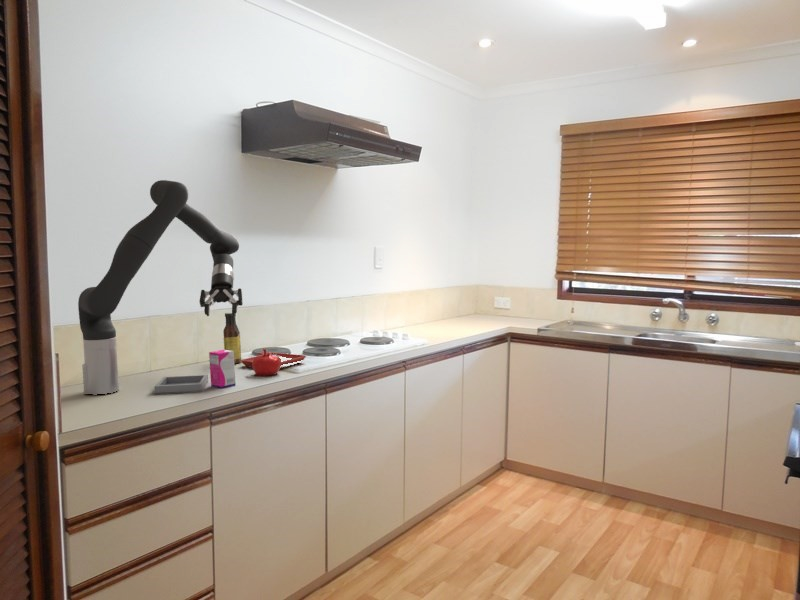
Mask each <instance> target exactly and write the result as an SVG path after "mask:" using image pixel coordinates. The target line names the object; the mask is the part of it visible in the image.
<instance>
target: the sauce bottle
mask: <svg viewBox="0 0 800 600" xmlns="http://www.w3.org/2000/svg"><path fill="white" fill-rule="evenodd" d="M236 314H237V313H236ZM236 314H235V315H232V311H231V312H225V313H224V317H225V327H223V350H230V351H234V365H235V364H236V365H237V364H240V363H242V362H241V360H242V348H241V346H242V345H241V332H240V330H239V328H238V325H237V322H236V316H237V315H236Z"/></svg>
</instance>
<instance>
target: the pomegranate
mask: <svg viewBox="0 0 800 600" xmlns="http://www.w3.org/2000/svg"><path fill="white" fill-rule="evenodd" d="M262 351H263V352H260V353H256V354H255V355H256V356H257V357H256V356H254V357H255V358H254V360H253V362H252V367H251V368H252V370H253V371H254V373H255V375H256V376H259V377H265V376H273V375H274V376H275V375H276V374H277V373H279V371H280V370H281V369H280V366H281V359H280V358H279V357H278V356H276V355H272V354H273V353H275V354H276V353H277V352H271V351H268V352H267V349H266V348H263V349H262Z"/></svg>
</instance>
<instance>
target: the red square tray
mask: <svg viewBox="0 0 800 600" xmlns="http://www.w3.org/2000/svg"><path fill="white" fill-rule="evenodd" d="M273 353H274V354H275V353H276V354H277V355H280V356H282V357H286V358H292V359H291V360H287V361H283V362H281V365H283V364H288V363H293V362H297V361H301V360H303V361H304V360H305V358H306V357H307V355H303V354H293V353H291V354H290V353H282V352H281V353H280V352H273ZM257 356H258V355H256V356H252V357H248V358H245V359H244V358H243V359H241V362H240V363H242V364H243V365H245V366H246V368H252V362H253V360H254V358H255V357H257Z"/></svg>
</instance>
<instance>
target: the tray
mask: <svg viewBox="0 0 800 600" xmlns="http://www.w3.org/2000/svg"><path fill="white" fill-rule="evenodd" d="M208 383H209V375H208V374H196V375H178V376H177V375H176V376H175V375H174V376H163V377H162V378H161V379H160V380H159V381H158V382H157V383H156V384H155V385H154V387H153V388H154V395H166V394H165V393H171V394H185V393H202V392H203V391H204V389H206V386H207V385H208Z"/></svg>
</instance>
